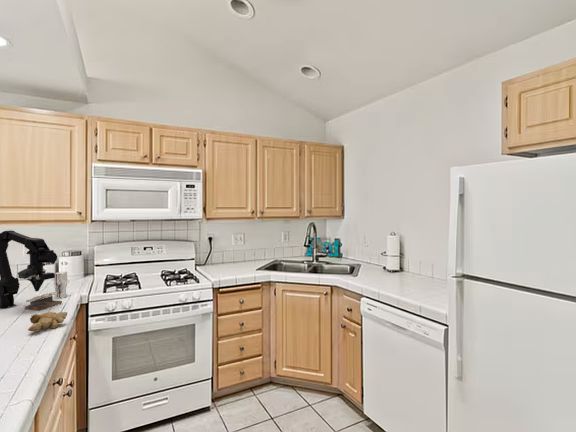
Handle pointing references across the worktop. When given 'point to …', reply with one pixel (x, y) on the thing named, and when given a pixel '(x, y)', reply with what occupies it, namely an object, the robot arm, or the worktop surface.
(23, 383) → the worktop surface
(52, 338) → the worktop surface
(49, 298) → the switch unit
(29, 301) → the near rocker
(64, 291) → the beer glass
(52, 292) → the far rocker
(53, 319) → the ginger root
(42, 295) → the middle rocker
